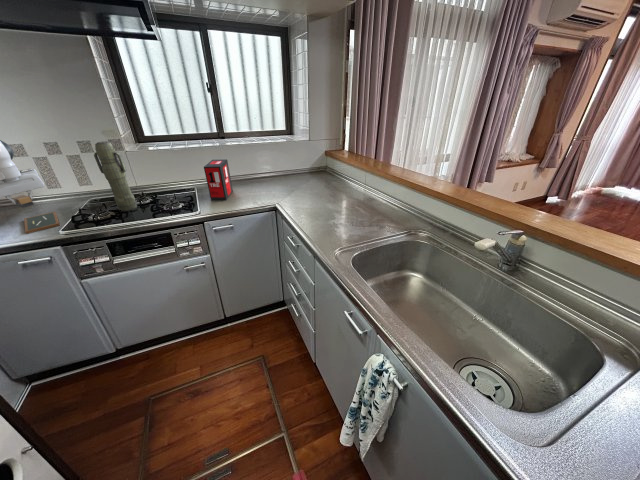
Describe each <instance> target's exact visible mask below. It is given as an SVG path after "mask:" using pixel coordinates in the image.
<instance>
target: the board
mask: <svg viewBox="0 0 640 480" xmlns="http://www.w3.org/2000/svg"><path fill="white" fill-rule="evenodd" d="M23 223H24V232H25V234H26V235H28V234H31V233H35V232H39V231H43V230H47V229H51V228H56V227H59V226H61V224H60V221H59V217H58V215H57V212H56V211H51V212H47V213H42V214H38V215H37V214H36V215H33V216H29V217H24V219H23Z"/></svg>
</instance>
